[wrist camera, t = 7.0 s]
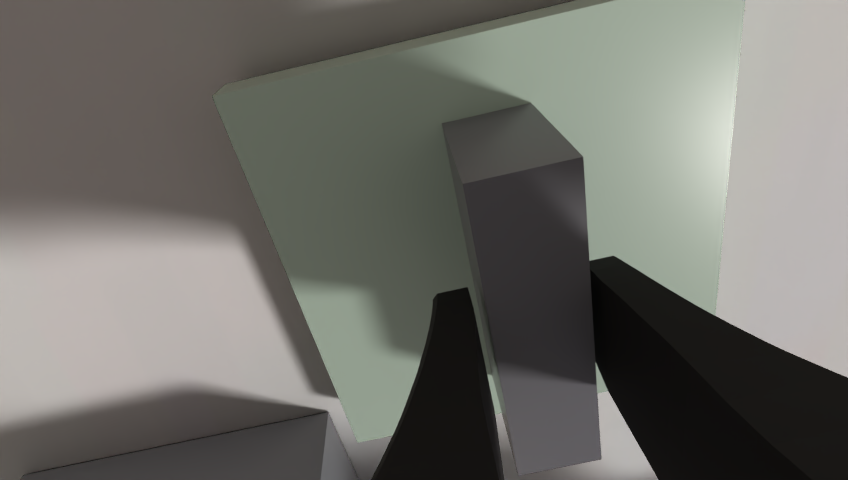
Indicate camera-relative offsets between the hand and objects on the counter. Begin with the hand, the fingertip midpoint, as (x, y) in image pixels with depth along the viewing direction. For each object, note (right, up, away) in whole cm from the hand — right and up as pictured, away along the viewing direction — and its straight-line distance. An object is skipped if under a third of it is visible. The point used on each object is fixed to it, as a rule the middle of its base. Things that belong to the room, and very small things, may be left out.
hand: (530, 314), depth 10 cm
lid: (0, +2, +3) cm, 4 cm away
